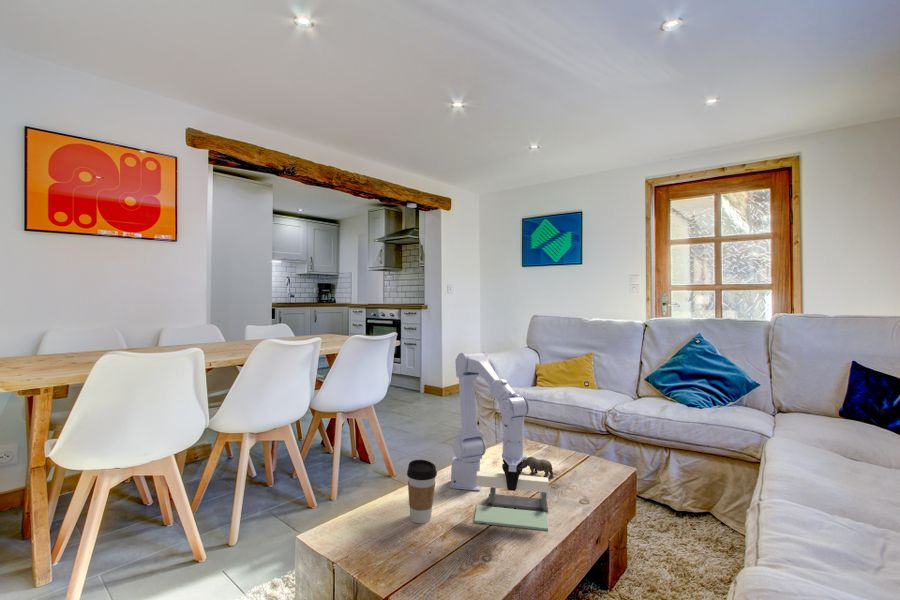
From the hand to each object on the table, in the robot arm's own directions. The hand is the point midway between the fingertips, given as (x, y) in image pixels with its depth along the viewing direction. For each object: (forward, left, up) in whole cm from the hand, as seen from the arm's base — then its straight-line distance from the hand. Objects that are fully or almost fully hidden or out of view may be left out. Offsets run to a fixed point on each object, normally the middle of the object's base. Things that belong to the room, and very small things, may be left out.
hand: (511, 487), depth 122 cm
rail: (0, 0, 0) cm, 0 cm away
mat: (0, 0, -9) cm, 9 cm away
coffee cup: (-25, -5, -9) cm, 27 cm away
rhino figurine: (+8, +33, -9) cm, 35 cm away
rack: (+2, +9, -9) cm, 13 cm away
